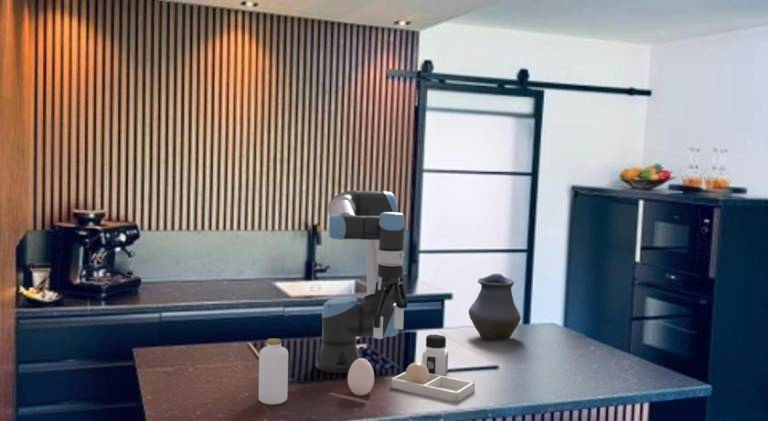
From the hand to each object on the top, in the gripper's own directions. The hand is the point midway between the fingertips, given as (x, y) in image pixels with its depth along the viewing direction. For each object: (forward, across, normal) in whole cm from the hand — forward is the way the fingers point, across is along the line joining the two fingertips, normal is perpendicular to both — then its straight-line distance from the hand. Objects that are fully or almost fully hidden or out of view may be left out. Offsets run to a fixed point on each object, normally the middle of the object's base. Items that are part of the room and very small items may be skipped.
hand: (388, 333), depth 222 cm
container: (+19, +26, -4) cm, 32 cm away
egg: (+19, -6, +6) cm, 21 cm away
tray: (+18, +9, -11) cm, 23 cm away
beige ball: (+18, +9, -6) cm, 21 cm away
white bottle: (+19, -24, +25) cm, 39 cm away
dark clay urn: (+19, +83, -5) cm, 85 cm away
